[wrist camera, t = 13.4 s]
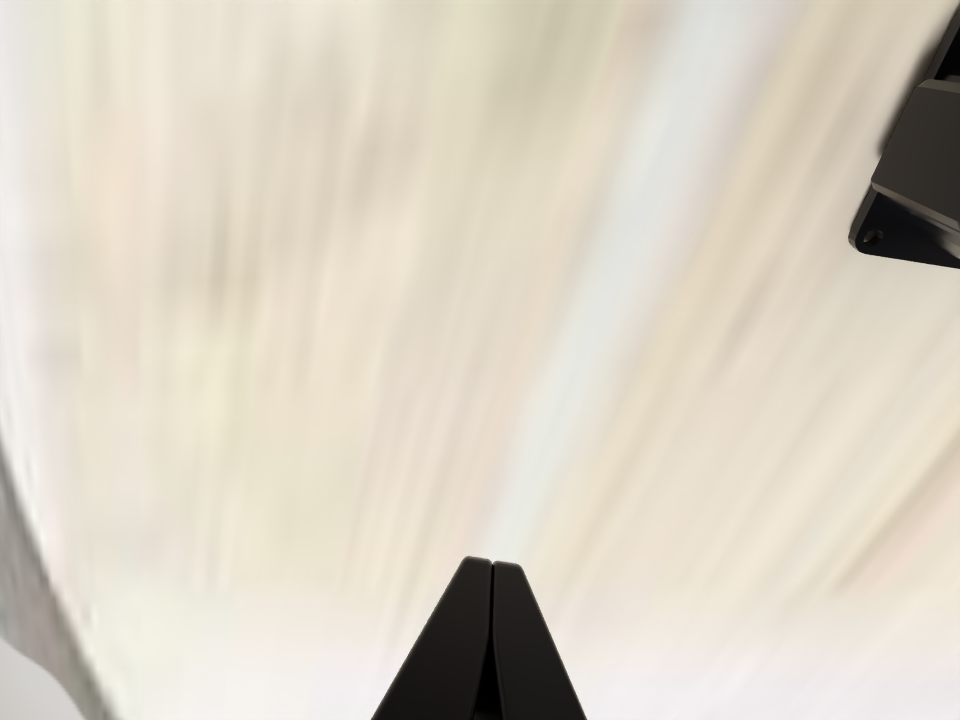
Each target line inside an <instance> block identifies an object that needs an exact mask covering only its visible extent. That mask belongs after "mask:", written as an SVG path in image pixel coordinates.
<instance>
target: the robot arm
mask: <svg viewBox="0 0 960 720" xmlns="http://www.w3.org/2000/svg"><path fill="white" fill-rule="evenodd" d="M871 182H872V186H871V189H870V191H869V193H868V195H867V197H866V199H865V201H864V203H863V205H862V207H861V209H860V211H859V213H858V215H857V217H856V219H855V221H854V224H853V226H852V228H851V230H850V232H849V236H848V239H849V243H850V244H851V246H852V247H853V248H855V249H856V250H858V251H859V252H861V253H864V254H869V255H875V256H881V257H888V258H894V259H900V260H907V261H913V262H919V263H926V264H932V265H938V266H944V267H951V268H957V269H960V9H959V10H958V12H957V13H956V15H955V16H954V18H953V20H952V22H951V24H950V26H949V28H948V30H947V32H946V34H945V36H944V38H943V40H942V42H941V44H940V46H939V48H938V51H937V53H936V55H935V57H934V59H933V61H932V63H931V65H930V67H929V69H928V71H927V73H926V75H925V77H924V79H923V81H922V83H921V84H920V85H918V86H917V87H916V88H915V89H914V90H913V93H912V95H911V97H910V99H909V101H908V103H907V105H906V107H905V109H904V111H903V113H902V115H901V117H900V120H899V122H898V124H897V126H896V128H895V130H894V132H893V134H892V136H891V138H890V140H889V142H888V144H887V147H886V149H885V151H884V153H883V155H882V157H881V159H880V161H879V163H878V165H877V167H876V169H875V171H874V174H873V176H872V178H871ZM871 230H876V232H875V235H874V237H873V238H872V239H870V240H869V241H866V242H864V237H865V235H866V234H867V233H868V232H869V231H871ZM371 720H587V718H586V716H585V714H584V711H583V709H582V707H581V704H580V702H579V699H578V697H577V695H576V692H575V690H574V688H573V685H572V683H571V681H570V678H569V676H568V674H567V671H566V669H565V667H564V664H563V662H562V660H561V657H560V655H559V653H558V650H557V648H556V646H555V643H554V641H553V639H552V636H551V634H550V632H549V629H548V627H547V625H546V622H545V620H544V618H543V615H542V613H541V610H540V608H539V606H538V603H537V601H536V599H535V596H534V594H533V592H532V589H531V587H530V585H529V582H528V580H527V578H526V575H525V573H524V571H523V569H522V567H521V566H520V565H518V564H515V563H509V562H503V561H495V562H494V563H493V564H492V562H491V561H490V560H488V559H484V558H478V557H472V556H467V557H465V558H464V559H463V560H462V562H461V564H460V565H459V567H458V569H457V571H456V572H455V574H454V576H453V578H452V579H451V581H450V583H449V585H448V586H447V588H446V590H445V592H444V593H443V595H442V597H441V598H440V600H439V602H438V604H437V605H436V607H435V609H434V611H433V612H432V614H431V616H430V618H429V619H428V621H427V623H426V625H425V626H424V628H423V630H422V632H421V633H420V635H419V637H418V639H417V640H416V642H415V644H414V646H413V647H412V649H411V651H410V652H409V654H408V656H407V658H406V659H405V661H404V663H403V665H402V666H401V668H400V670H399V672H398V673H397V675H396V677H395V679H394V680H393V682H392V684H391V686H390V687H389V689H388V691H387V693H386V694H385V696H384V698H383V699H382V701H381V703H380V705H379V706H378V708H377V710H376V712H375V713H374V715H373V717H372V719H371Z"/></svg>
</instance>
